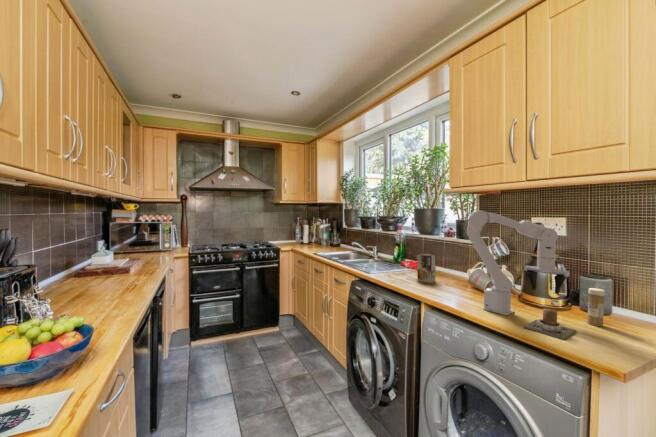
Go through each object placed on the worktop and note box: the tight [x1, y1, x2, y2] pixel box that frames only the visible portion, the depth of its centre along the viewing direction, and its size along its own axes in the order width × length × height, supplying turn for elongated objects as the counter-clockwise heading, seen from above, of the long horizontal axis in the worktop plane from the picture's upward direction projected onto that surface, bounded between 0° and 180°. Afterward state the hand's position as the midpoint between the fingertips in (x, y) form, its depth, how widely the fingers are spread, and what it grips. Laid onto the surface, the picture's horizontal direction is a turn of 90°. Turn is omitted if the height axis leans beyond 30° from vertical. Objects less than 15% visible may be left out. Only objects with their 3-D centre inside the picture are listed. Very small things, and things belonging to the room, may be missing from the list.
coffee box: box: [416, 253, 437, 284], centre depth 175 cm, size 9×6×16 cm
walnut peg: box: [542, 308, 558, 326], centre depth 103 cm, size 4×4×7 cm
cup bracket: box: [523, 318, 577, 341], centre depth 103 cm, size 12×12×2 cm
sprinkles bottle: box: [586, 287, 606, 327], centre depth 108 cm, size 5×5×13 cm
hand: (545, 291), depth 115 cm, fingers open, 7 cm apart
